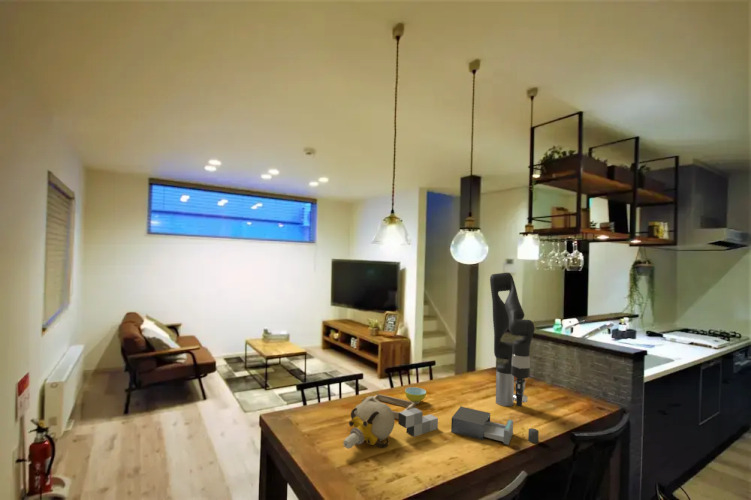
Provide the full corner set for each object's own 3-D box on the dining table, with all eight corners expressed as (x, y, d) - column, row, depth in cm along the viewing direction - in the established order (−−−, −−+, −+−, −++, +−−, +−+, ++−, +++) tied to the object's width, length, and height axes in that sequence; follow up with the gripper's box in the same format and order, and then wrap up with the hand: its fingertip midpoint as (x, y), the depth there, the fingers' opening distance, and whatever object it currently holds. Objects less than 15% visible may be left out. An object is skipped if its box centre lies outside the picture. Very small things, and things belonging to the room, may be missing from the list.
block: (405, 440, 156) (405, 416, 156) (398, 435, 160) (398, 412, 160) (437, 428, 167) (438, 406, 168) (430, 424, 172) (430, 403, 172)
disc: (513, 396, 165) (513, 392, 165) (527, 398, 162) (528, 395, 162) (512, 400, 159) (512, 396, 159) (526, 403, 157) (527, 399, 157)
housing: (460, 419, 178) (460, 406, 178) (489, 427, 171) (490, 413, 171) (451, 432, 164) (451, 417, 165) (482, 440, 158) (483, 425, 158)
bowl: (427, 407, 192) (427, 395, 192) (405, 406, 192) (405, 394, 193) (424, 398, 204) (425, 387, 204) (404, 398, 204) (404, 386, 204)
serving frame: (377, 399, 200) (377, 393, 201) (415, 408, 190) (415, 402, 190) (362, 410, 186) (362, 404, 186) (401, 420, 175) (401, 414, 175)
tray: (479, 425, 172) (479, 412, 172) (512, 433, 165) (513, 420, 165) (473, 435, 161) (473, 422, 161) (508, 444, 154) (508, 430, 154)
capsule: (528, 437, 162) (529, 427, 162) (538, 440, 160) (538, 429, 160) (527, 441, 158) (528, 431, 158) (537, 444, 156) (538, 433, 156)
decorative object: (367, 385, 170) (317, 410, 148) (406, 407, 156) (357, 439, 133) (364, 415, 173) (314, 444, 150) (402, 439, 158) (353, 476, 136)
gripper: (513, 359, 169) (512, 396, 169) (509, 367, 156) (508, 407, 156) (530, 362, 166) (530, 399, 166) (528, 370, 153) (527, 411, 153)
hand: (519, 403), depth 161 cm, fingers closed on disc, 6 cm apart
